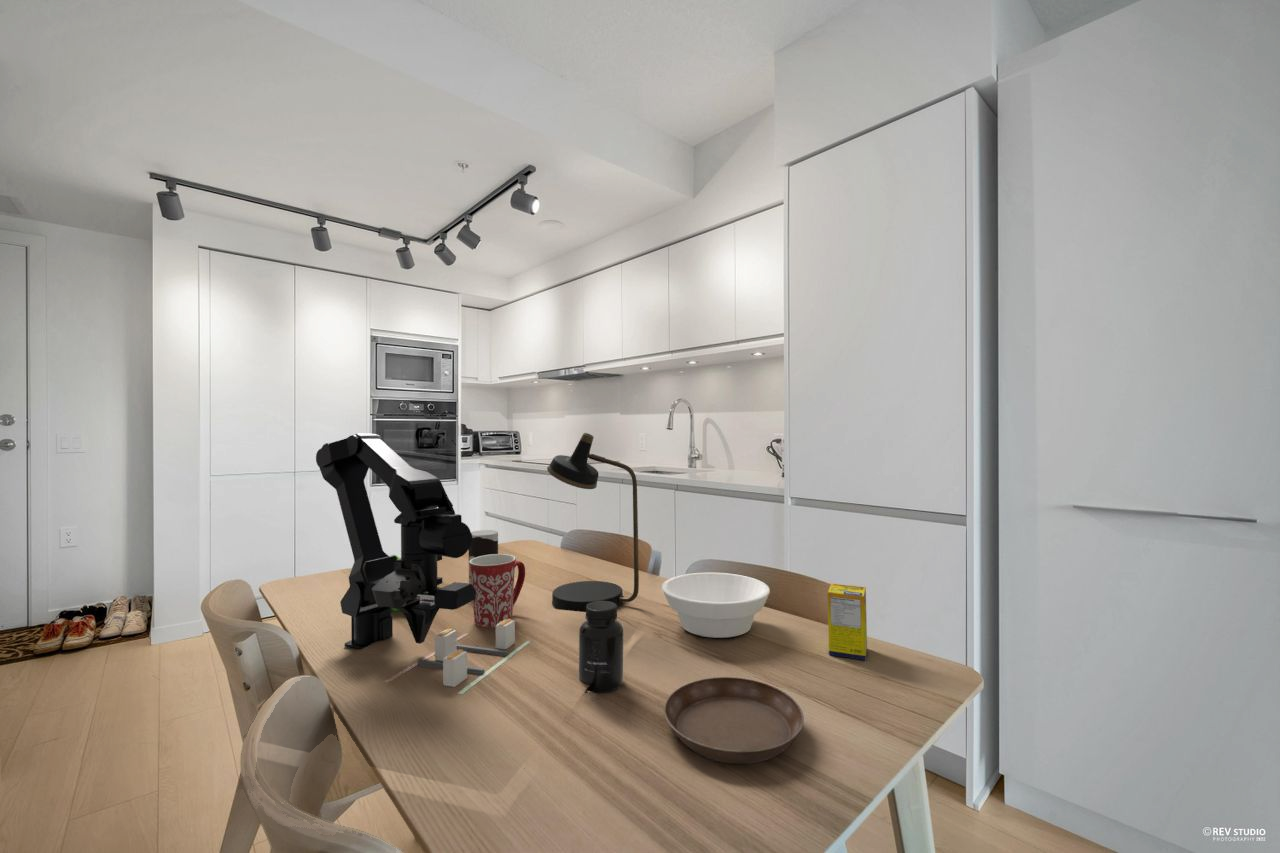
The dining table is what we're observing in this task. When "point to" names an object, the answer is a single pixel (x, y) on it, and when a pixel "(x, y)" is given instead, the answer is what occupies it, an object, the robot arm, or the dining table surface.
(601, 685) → the supplement bottle
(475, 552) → the cup
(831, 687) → the dining table surface
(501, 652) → the panel
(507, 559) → the mug
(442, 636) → the block
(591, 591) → the lamp
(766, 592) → the bowl
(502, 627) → the block
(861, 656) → the supplement box
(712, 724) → the plant saucer
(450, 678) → the block
